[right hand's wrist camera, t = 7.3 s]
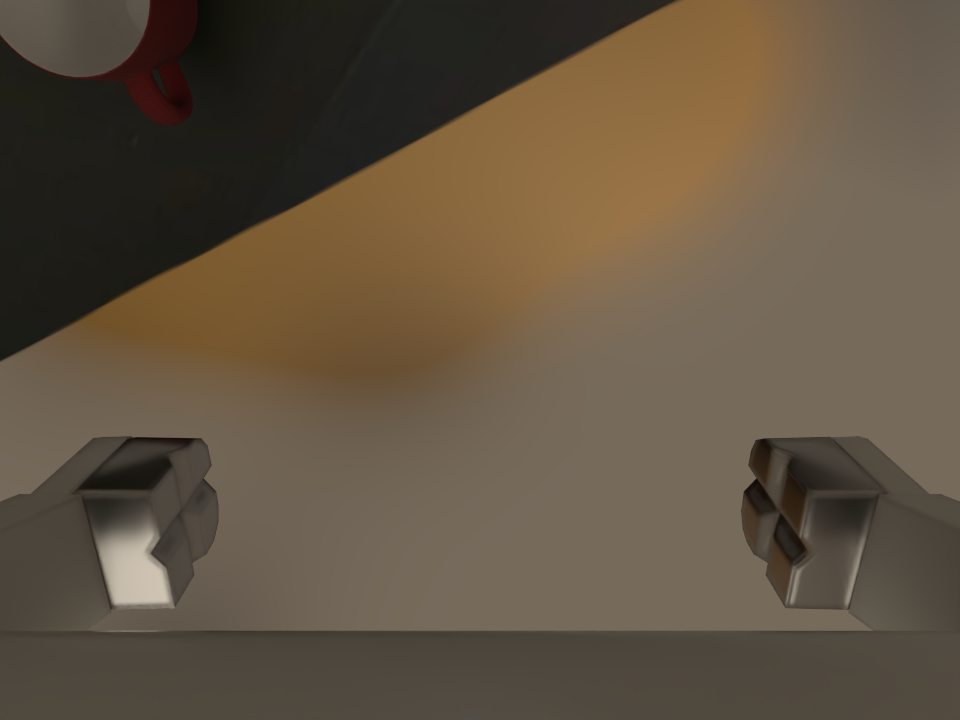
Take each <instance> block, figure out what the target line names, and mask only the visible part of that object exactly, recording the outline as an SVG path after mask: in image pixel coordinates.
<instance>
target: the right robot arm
mask: <svg viewBox="0 0 960 720" xmlns="http://www.w3.org/2000/svg"><path fill="white" fill-rule="evenodd" d="M210 467H211V460H210V456H209V451H208V446H207V445H206V443H205V442H204V441H203V440H202V439H201V438H148V437H135V438H133V437H131V436H129V437H101V438H93V439H92V440H91V441H90V442H89V443H87V444H86V445H85V446H84V447H83V448H82V449H81V450H80V451H78V452H77V453H76V454H75V455H74V456H73V457H72V458H71V459H69V460H68V461H67V462H66V463H65V464H64V465H63V466H62V467H60V468H59V469H58V470H57V471H56V472H55V473H54V474H53V475H52V476H50V477H49V478H48V479H47V480H46V481H45V482H44V483H42V484H41V485H40V486H39V487H38V488H37V489H36V490H35V491H33V492H32V493H31V494H19V495H16V496H14V497H11V498H9V499H6V500H3V501H1V502H0V720H960V502H959V501H957V500H954V499H952V498H949V497H946V496H944V495H941V494H929V493H928V492H927V491H925V490H924V489H923V488H922V487H921V486H920V485H919V484H918V483H916V482H915V481H914V480H913V479H912V478H911V477H910V476H909V475H908V474H906V473H905V472H904V471H903V470H902V469H901V468H900V467H899V466H897V465H896V464H895V463H894V462H893V461H892V460H891V459H890V458H889V457H887V456H886V455H885V454H884V453H883V452H882V451H881V450H879V449H878V448H877V447H876V446H875V445H874V444H873V443H872V442H871V441H869V440H868V439H866V438H863V437H859V436H855V437H832V438H831V437H809V438H767V439H760V440H756V441H755V443H754V445H753V448H752V450H751V454H750V460H749V467H750V469H751V470H752V472H753V473H754V475H755V477H756V478H757V479H756V480H755V481H754V482H753V483H752V484H751V485H750V486H749V487H748V488H747V489H746V490H745V491H744V495H743V502H742V510H741V513H742V524H743V531H744V534H745V537H746V541H747V543H748V545H749V547H750V549H751V550H752V552H753V554H754V555H756V556H758V557H759V558H761V559H763V560H764V561H766V562H767V563H768V566H767V571H766V576H767V578H768V579H769V581H770V583H771V584H772V586H773V588H774V589H775V591H776V593H777V594H778V596H779V598H780V600H781V601H782V603H783V605H784V606H785V608H803V609H840V610H849V613H850V614H851V615H853V616H854V617H855V618H857V619H858V620H860V621H861V622H862V623H864V624H865V625H866V626H868V627H869V628H870V629H872V630H873V631H87V630H88V629H90V628H91V627H93V626H94V625H95V624H97V623H98V622H99V621H101V620H102V619H103V618H105V617H106V616H107V615H109V614H110V613H111V610H120V609H156V608H175V606H176V605H177V603H178V601H179V600H180V598H181V596H182V595H183V593H184V591H185V590H186V588H187V586H188V584H189V583H190V581H191V579H192V578H193V576H194V571H193V566H192V563H193V562H194V561H196V560H198V559H199V558H201V557H202V556H204V555H206V554H207V552H208V550H209V548H210V547H211V545H212V543H213V541H214V538H215V534H216V529H217V525H218V501H217V494H216V491H215V490H214V489H213V488H212V487H211V486H210V485H209V484H208V483H207V482H206V481H205V480H204V479H203V478H204V477H205V475H206V473H207V472H208V470H209V469H210Z"/></svg>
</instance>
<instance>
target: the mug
mask: <svg viewBox="0 0 960 720" xmlns="http://www.w3.org/2000/svg"><path fill="white" fill-rule="evenodd" d="M197 21H198V4H197V0H0V37H1V38H2V39H3V41H4V42H5V43H6V44H7V45H8V46H9V47H10V48H11V49H12V50H14V51H15V52H16V53H17V54H18V55H19V56H21V57H22V58H23V59H25V60H26V61H28V62H29V63H31V64H32V65H34V66H36V67H38V68H40V69H42V70H44V71H46V72H49V73H51V74H54V75H57V76H61V77H65V78H71V79H81V80H95V81H119V82H123V83H124V84H125V85H126V87H127V89H128V91H129V93H130V95H131V97H132V98H133V100H134V101H135V103H136V104H137V106H138V107H139V108H140V109H141V110H142V111H143V112H144V113H145V114H146V115H147V116H148V117H149V118H151V119H152V120H153V121H155V122H157V123H159V124H161V125H165V126H173V125H178V124H180V123H182V122H184V121H186V120H187V119H188V118H189V117H190V115H191V112H192V108H193V103H192V97H191V93H190V90H189V87H188V84H187V82H186V80H185V77H184V75H183V73H182V71H181V69H180V67H179V65H178V62H177V59H178V58H179V56H180V55H181V54H182V53H183V52H184V50H185V49H186V48H187V46H188V45H189V43H190V42H191V40H192V38H193V36H194V33H195V30H196V26H197ZM154 68H157V69H158V71H159V73H160V76H161V79H162V82H163V85H164V89H165V92H166V97H167V98H166V97H165V96H164V94H163V93H162V92H161V90H160V89H159V87H158V85H157V83H156V81H155V79H154V77H153V75H152V70H153V69H154Z"/></svg>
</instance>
